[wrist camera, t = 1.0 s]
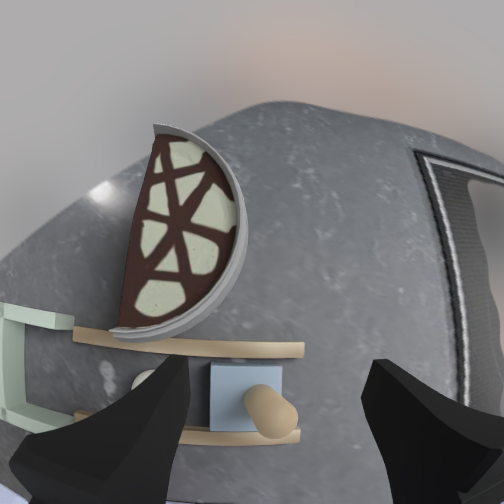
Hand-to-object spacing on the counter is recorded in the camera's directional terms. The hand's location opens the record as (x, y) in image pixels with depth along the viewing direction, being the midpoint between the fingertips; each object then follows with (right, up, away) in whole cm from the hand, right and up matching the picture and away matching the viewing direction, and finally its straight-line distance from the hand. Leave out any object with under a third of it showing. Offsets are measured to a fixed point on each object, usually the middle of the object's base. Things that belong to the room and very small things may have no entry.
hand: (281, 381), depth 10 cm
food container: (-6, +4, +13) cm, 15 cm away
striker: (-1, -6, +11) cm, 13 cm away
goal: (-19, -5, +8) cm, 21 cm away
